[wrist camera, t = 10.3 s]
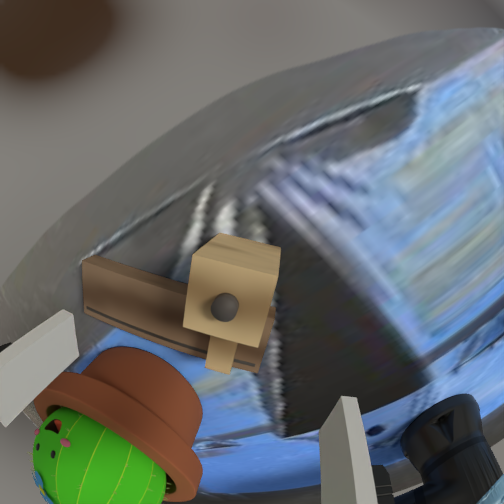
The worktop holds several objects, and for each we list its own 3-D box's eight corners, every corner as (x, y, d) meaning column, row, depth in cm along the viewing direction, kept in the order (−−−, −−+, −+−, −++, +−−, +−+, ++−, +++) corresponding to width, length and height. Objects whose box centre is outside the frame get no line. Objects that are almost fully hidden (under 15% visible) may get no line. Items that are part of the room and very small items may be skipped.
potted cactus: (242, 435, 34) (208, 579, 10) (134, 434, 38) (79, 530, 14) (173, 315, 29) (33, 497, 5) (66, 338, 34) (-35, 428, 10)
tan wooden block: (252, 351, 29) (239, 408, 20) (201, 337, 29) (173, 389, 21) (281, 247, 26) (277, 281, 17) (220, 232, 26) (187, 258, 17)
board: (259, 359, 29) (257, 373, 27) (95, 304, 31) (84, 312, 28) (275, 307, 27) (274, 319, 25) (94, 254, 29) (81, 260, 26)
